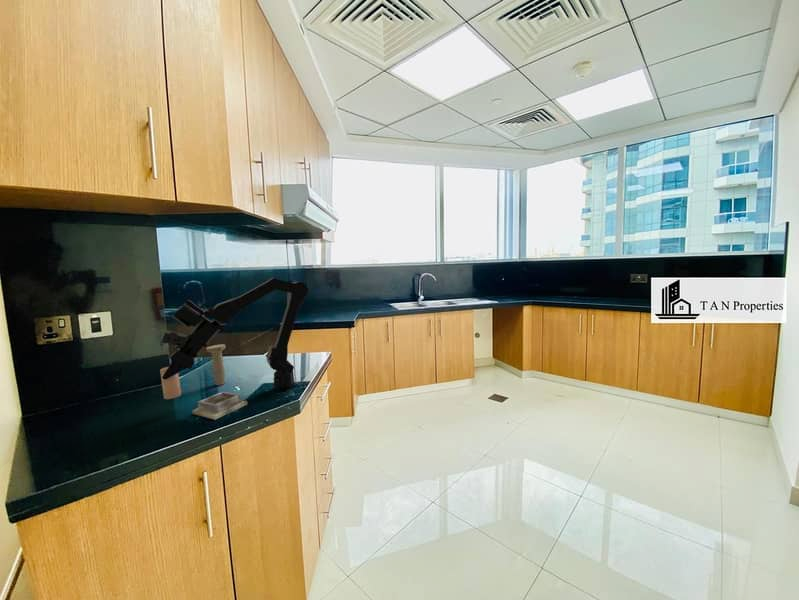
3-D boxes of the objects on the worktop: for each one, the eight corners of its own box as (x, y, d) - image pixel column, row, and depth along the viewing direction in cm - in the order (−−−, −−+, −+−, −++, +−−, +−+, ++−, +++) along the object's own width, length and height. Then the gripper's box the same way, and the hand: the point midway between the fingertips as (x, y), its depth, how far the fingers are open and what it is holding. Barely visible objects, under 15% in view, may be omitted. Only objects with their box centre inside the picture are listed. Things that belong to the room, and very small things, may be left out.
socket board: (225, 399, 110) (224, 389, 110) (247, 404, 105) (246, 394, 105) (192, 413, 101) (191, 402, 100) (215, 419, 96) (213, 408, 95)
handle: (231, 382, 127) (227, 345, 126) (214, 388, 122) (209, 349, 121) (225, 380, 130) (221, 343, 129) (208, 385, 125) (204, 347, 124)
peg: (176, 392, 105) (172, 365, 104) (184, 394, 103) (180, 366, 102) (161, 398, 101) (156, 369, 100) (169, 399, 99) (165, 371, 98)
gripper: (180, 317, 109) (143, 355, 105) (175, 324, 93) (131, 370, 89) (210, 336, 114) (176, 374, 110) (210, 346, 98) (170, 391, 93)
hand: (164, 376), depth 100 cm, fingers closed on peg, 4 cm apart
